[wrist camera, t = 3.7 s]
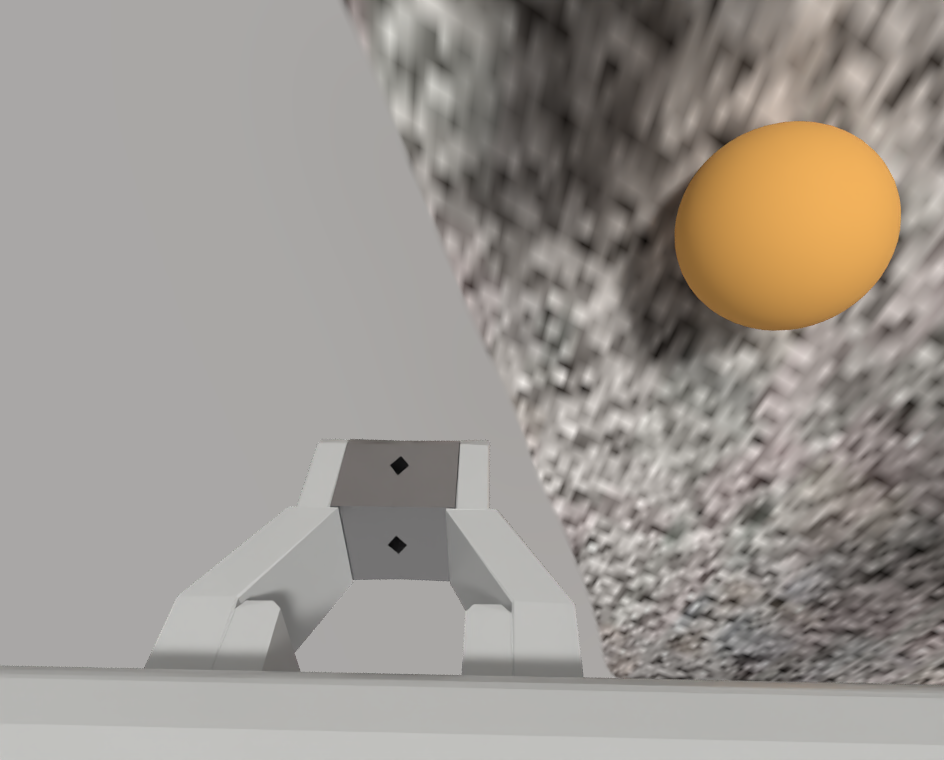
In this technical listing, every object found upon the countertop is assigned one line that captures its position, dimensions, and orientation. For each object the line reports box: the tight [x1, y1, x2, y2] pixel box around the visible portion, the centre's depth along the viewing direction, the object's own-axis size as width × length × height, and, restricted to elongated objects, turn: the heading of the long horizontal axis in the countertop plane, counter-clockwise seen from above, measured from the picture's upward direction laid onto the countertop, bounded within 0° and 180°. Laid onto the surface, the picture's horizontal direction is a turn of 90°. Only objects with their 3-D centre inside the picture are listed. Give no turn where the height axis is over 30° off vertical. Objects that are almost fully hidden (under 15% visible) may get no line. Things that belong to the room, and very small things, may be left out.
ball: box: [675, 121, 901, 331], centre depth 19 cm, size 6×6×6 cm
